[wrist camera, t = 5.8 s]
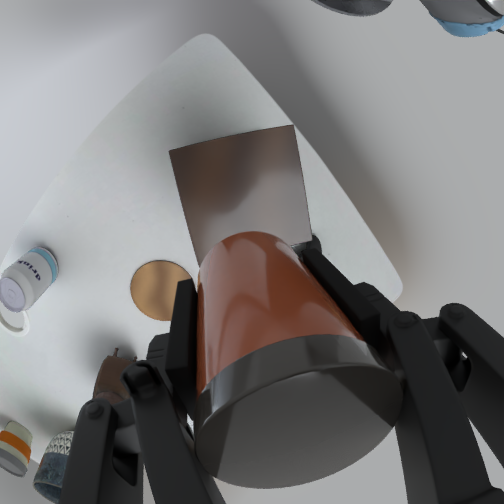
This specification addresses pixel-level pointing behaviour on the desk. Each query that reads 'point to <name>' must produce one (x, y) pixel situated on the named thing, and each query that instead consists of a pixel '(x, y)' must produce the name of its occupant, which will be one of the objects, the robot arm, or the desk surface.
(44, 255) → the beverage can
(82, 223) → the desk surface
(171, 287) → the coaster
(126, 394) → the alarm clock
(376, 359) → the jar
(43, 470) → the planter
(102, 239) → the desk surface
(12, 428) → the reusable coffee cup
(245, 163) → the stand
